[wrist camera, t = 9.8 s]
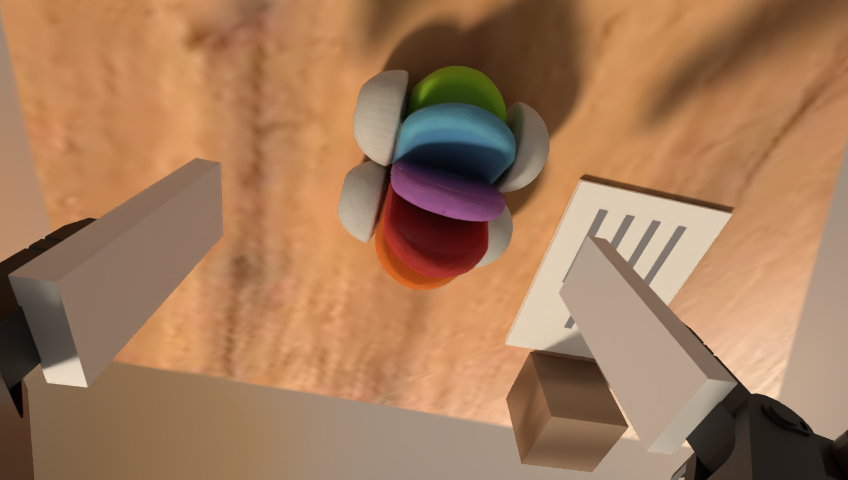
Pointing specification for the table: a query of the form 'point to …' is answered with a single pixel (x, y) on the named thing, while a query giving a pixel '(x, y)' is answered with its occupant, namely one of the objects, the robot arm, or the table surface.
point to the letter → (633, 239)
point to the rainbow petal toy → (438, 172)
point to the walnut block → (563, 413)
